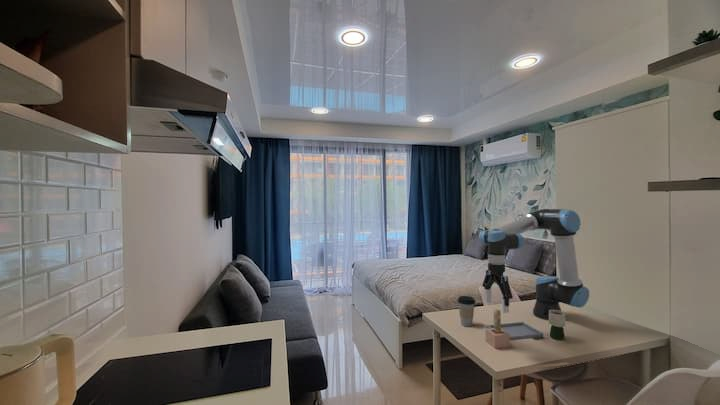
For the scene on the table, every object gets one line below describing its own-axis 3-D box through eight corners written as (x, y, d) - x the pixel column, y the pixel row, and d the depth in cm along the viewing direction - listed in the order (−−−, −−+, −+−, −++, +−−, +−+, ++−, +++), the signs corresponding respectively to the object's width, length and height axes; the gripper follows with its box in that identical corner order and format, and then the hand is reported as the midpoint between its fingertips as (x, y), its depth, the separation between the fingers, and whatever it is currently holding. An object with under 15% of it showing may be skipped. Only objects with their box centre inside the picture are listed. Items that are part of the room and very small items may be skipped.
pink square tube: (499, 341, 152) (499, 327, 152) (509, 348, 145) (509, 334, 145) (485, 343, 151) (485, 328, 151) (494, 350, 144) (494, 335, 144)
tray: (522, 325, 170) (522, 321, 170) (543, 338, 155) (543, 333, 155) (486, 329, 166) (486, 325, 166) (503, 342, 151) (503, 337, 151)
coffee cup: (464, 320, 179) (464, 294, 179) (479, 325, 172) (478, 298, 171) (454, 324, 174) (453, 297, 174) (468, 329, 166) (468, 302, 166)
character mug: (558, 333, 160) (558, 308, 160) (571, 338, 154) (571, 313, 153) (542, 336, 157) (542, 311, 156) (555, 342, 150) (555, 316, 150)
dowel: (498, 342, 150) (498, 309, 149) (502, 345, 147) (501, 311, 147) (492, 342, 149) (492, 309, 149) (496, 345, 146) (496, 312, 146)
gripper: (475, 258, 159) (475, 299, 159) (505, 269, 134) (506, 317, 135) (488, 257, 160) (488, 298, 161) (521, 268, 136) (521, 316, 136)
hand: (496, 307), depth 148 cm, fingers open, 13 cm apart
